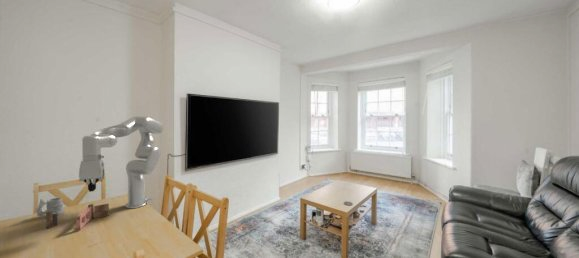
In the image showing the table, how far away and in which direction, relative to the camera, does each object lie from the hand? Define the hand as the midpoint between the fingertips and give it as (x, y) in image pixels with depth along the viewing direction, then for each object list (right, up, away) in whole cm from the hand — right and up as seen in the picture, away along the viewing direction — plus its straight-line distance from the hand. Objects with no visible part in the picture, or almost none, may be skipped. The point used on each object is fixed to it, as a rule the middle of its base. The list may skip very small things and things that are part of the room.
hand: (92, 190), depth 124 cm
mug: (-35, -19, +12) cm, 42 cm away
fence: (-14, -20, +8) cm, 25 cm away
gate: (-7, -20, +3) cm, 21 cm away
